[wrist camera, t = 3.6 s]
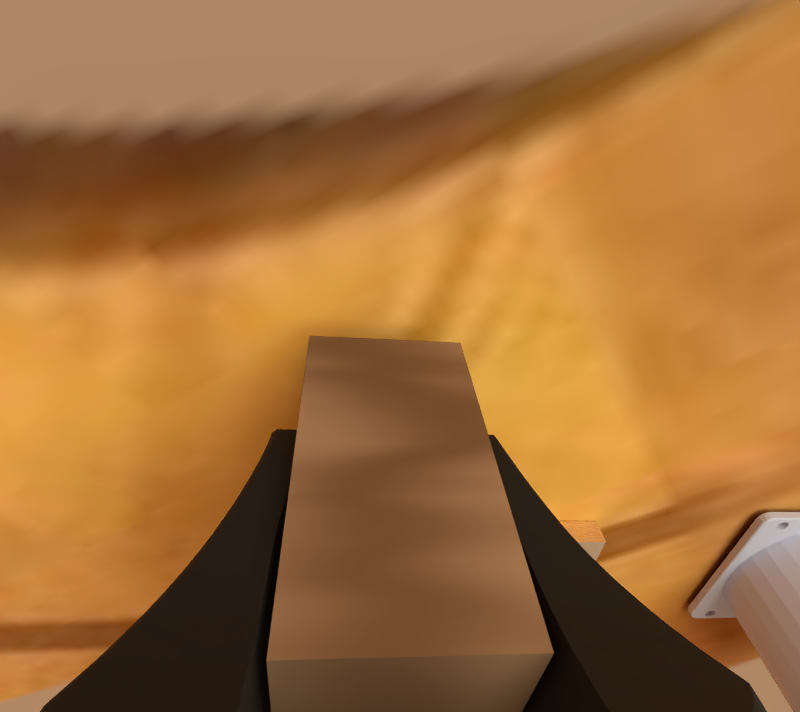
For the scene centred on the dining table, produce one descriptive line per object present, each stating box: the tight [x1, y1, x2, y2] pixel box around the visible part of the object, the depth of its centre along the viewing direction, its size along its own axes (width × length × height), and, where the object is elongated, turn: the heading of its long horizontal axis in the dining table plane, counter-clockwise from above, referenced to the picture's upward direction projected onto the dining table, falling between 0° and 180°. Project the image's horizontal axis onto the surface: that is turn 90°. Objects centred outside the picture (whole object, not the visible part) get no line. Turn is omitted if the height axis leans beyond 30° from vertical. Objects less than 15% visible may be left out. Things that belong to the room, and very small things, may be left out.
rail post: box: [266, 336, 554, 712], centre depth 12 cm, size 4×4×8 cm
